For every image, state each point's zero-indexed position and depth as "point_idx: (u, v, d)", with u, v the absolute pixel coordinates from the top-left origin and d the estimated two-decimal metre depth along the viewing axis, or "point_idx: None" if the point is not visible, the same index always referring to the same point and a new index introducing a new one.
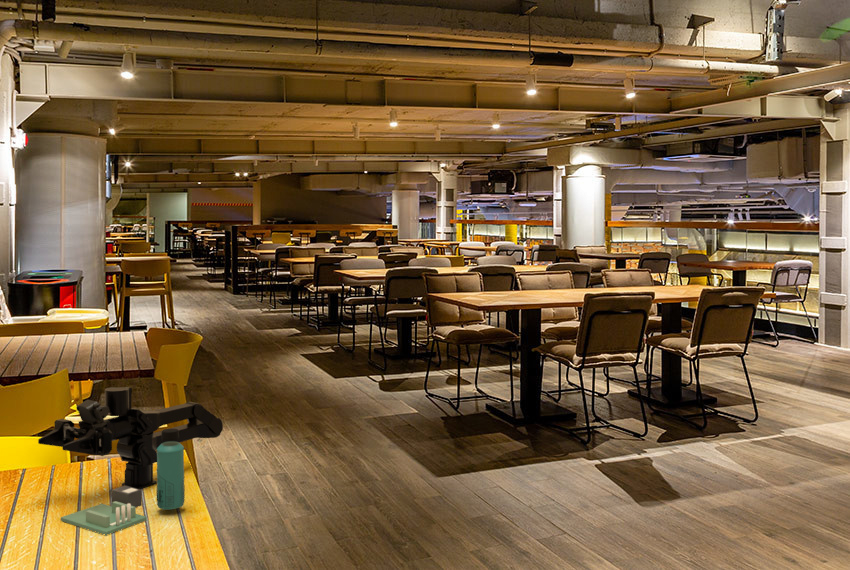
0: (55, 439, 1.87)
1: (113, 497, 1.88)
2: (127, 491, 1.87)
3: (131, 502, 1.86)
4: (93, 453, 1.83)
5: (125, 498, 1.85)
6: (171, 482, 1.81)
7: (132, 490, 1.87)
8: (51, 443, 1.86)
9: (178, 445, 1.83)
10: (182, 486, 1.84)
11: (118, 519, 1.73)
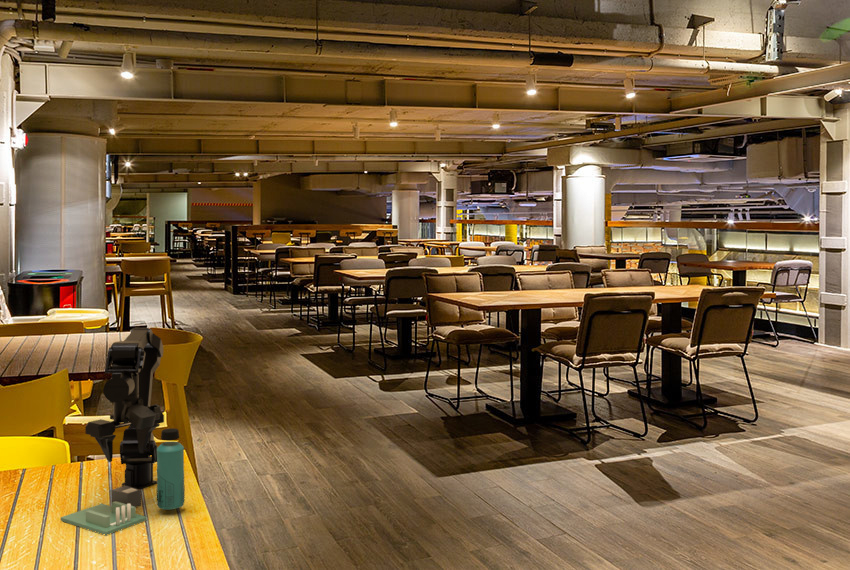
0: None
1: (113, 497, 1.88)
2: (127, 491, 1.87)
3: (130, 502, 1.86)
4: None
5: (125, 498, 1.85)
6: (171, 482, 1.81)
7: (132, 490, 1.87)
8: None
9: (178, 445, 1.83)
10: (182, 486, 1.84)
11: (118, 519, 1.73)
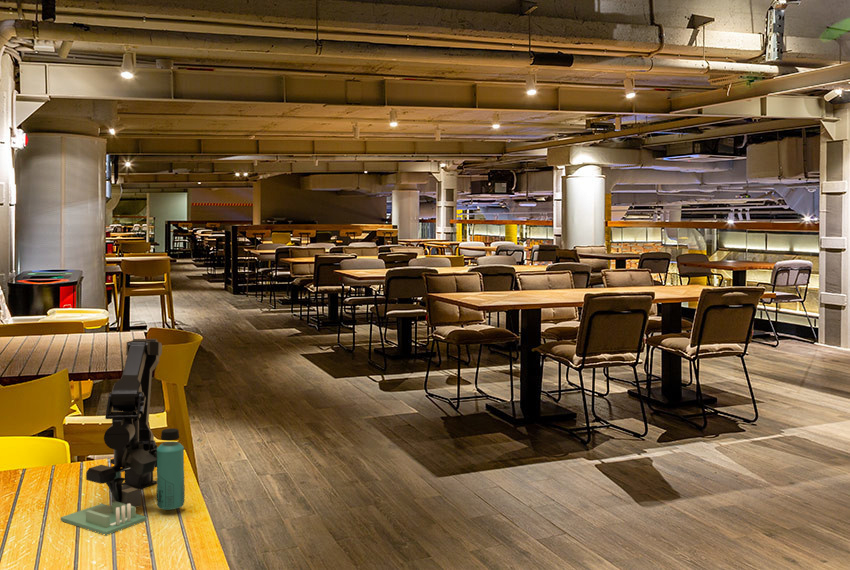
0: None
1: None
2: (126, 490, 1.87)
3: (130, 501, 1.86)
4: None
5: (124, 498, 1.85)
6: (171, 482, 1.81)
7: (132, 489, 1.87)
8: None
9: (178, 445, 1.83)
10: (182, 486, 1.84)
11: (118, 519, 1.73)
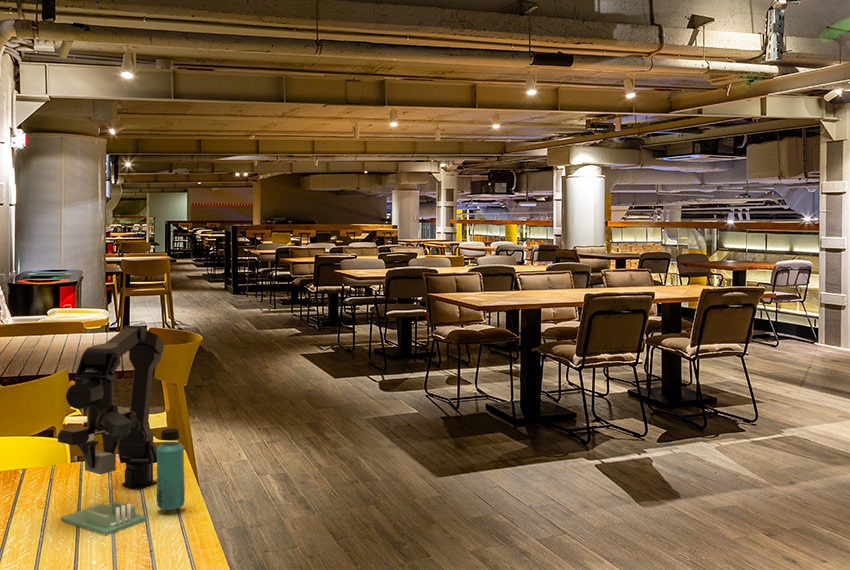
0: None
1: (86, 461, 1.81)
2: (100, 454, 1.80)
3: (104, 466, 1.79)
4: None
5: (98, 462, 1.79)
6: (171, 482, 1.81)
7: (106, 454, 1.81)
8: None
9: (178, 445, 1.83)
10: (182, 486, 1.84)
11: (118, 519, 1.73)
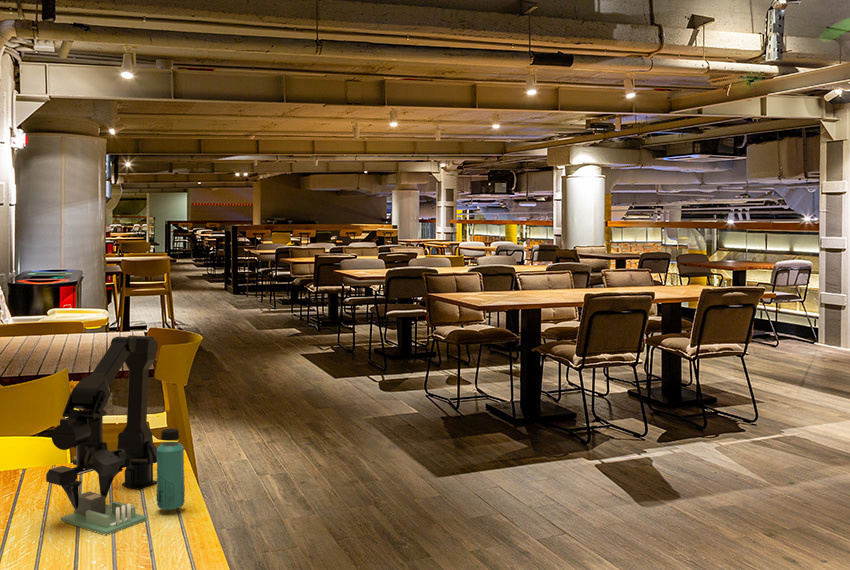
0: None
1: None
2: (90, 497, 1.79)
3: (94, 509, 1.78)
4: None
5: (88, 505, 1.78)
6: (171, 482, 1.81)
7: (95, 496, 1.80)
8: None
9: (178, 445, 1.83)
10: (182, 486, 1.84)
11: (118, 519, 1.73)
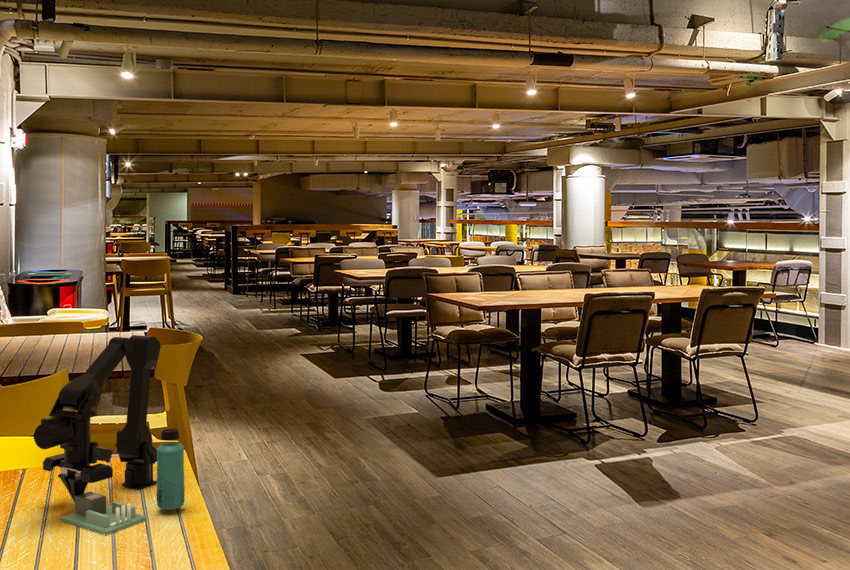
0: None
1: (76, 504, 1.80)
2: (90, 497, 1.79)
3: (94, 509, 1.78)
4: None
5: (88, 505, 1.77)
6: (171, 482, 1.81)
7: (96, 496, 1.80)
8: None
9: (178, 445, 1.83)
10: (182, 486, 1.84)
11: (118, 519, 1.73)
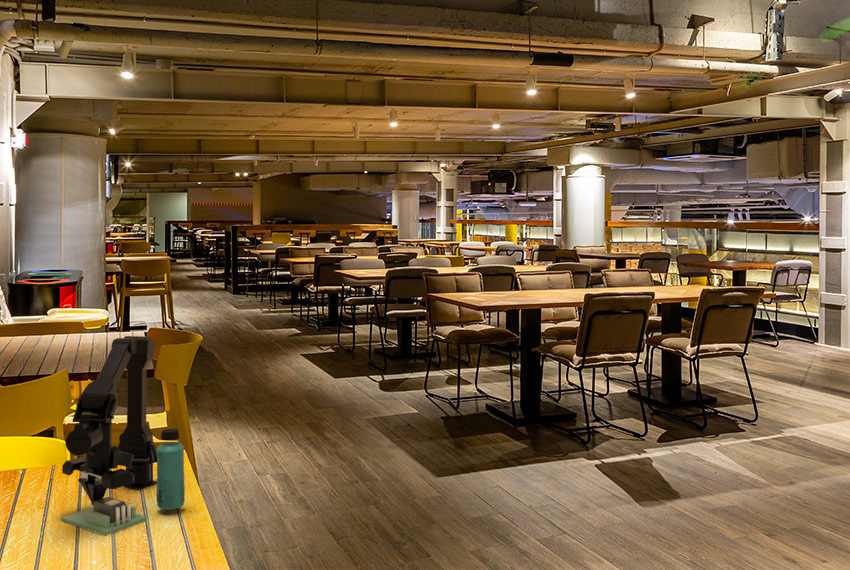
0: None
1: (95, 509, 1.76)
2: (110, 503, 1.75)
3: (114, 515, 1.74)
4: None
5: (108, 511, 1.74)
6: (171, 482, 1.81)
7: (115, 502, 1.76)
8: None
9: (178, 445, 1.83)
10: (182, 486, 1.84)
11: (118, 519, 1.73)
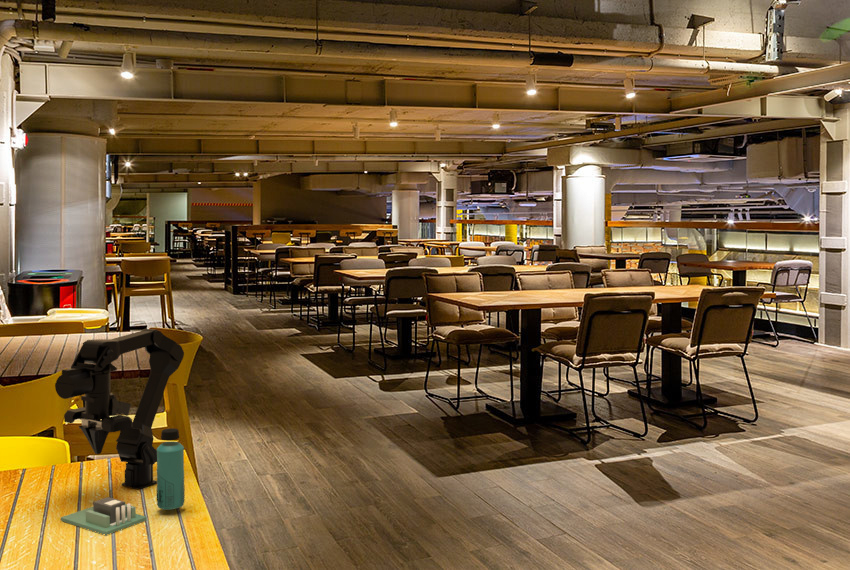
0: None
1: (95, 510, 1.76)
2: (110, 503, 1.75)
3: (114, 515, 1.74)
4: None
5: (107, 511, 1.74)
6: (171, 482, 1.81)
7: (115, 502, 1.76)
8: None
9: (178, 445, 1.83)
10: (182, 486, 1.84)
11: (118, 519, 1.73)
